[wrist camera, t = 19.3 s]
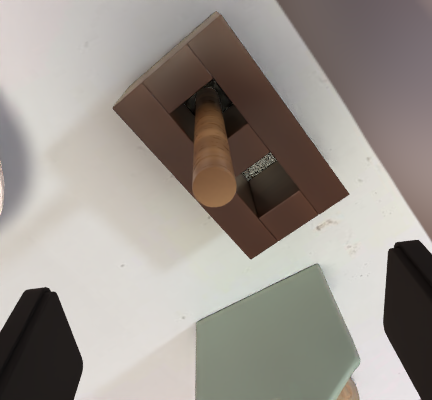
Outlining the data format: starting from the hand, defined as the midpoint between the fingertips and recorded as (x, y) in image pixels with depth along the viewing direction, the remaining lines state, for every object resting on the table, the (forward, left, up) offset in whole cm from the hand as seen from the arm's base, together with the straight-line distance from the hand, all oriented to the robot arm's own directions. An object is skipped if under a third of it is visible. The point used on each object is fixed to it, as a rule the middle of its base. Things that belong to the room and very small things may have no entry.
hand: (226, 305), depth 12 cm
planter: (+27, +4, -30) cm, 41 cm away
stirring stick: (+1, 0, -29) cm, 29 cm away
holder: (+3, +2, -29) cm, 30 cm away
